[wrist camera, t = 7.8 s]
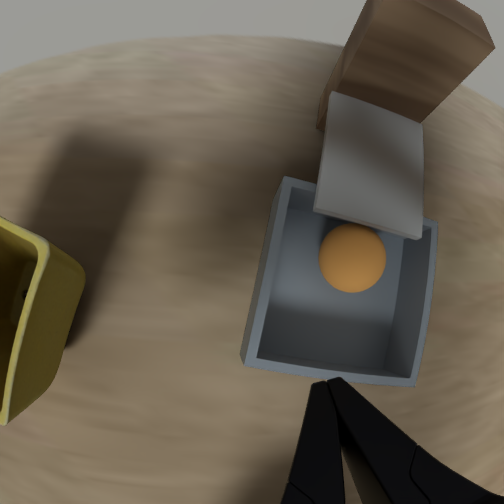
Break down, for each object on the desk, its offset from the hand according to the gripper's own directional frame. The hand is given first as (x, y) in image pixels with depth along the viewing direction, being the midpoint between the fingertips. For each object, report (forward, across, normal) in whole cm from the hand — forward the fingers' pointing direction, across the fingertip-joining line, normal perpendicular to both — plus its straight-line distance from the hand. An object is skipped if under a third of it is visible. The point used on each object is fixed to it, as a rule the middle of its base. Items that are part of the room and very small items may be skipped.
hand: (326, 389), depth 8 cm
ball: (+10, -4, +1) cm, 11 cm away
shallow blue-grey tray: (+11, -3, +4) cm, 12 cm away
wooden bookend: (+16, -6, -3) cm, 17 cm away
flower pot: (+10, +16, 0) cm, 19 cm away
